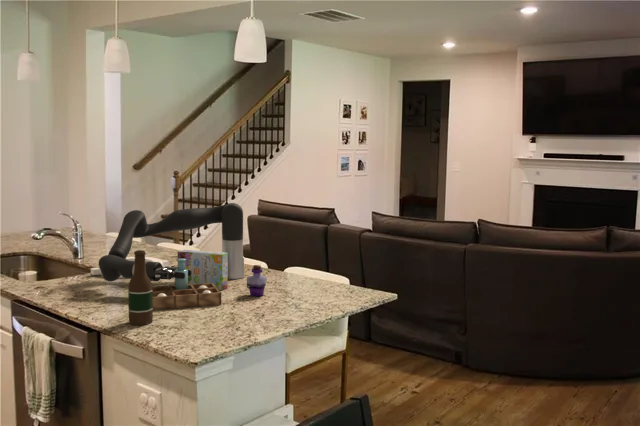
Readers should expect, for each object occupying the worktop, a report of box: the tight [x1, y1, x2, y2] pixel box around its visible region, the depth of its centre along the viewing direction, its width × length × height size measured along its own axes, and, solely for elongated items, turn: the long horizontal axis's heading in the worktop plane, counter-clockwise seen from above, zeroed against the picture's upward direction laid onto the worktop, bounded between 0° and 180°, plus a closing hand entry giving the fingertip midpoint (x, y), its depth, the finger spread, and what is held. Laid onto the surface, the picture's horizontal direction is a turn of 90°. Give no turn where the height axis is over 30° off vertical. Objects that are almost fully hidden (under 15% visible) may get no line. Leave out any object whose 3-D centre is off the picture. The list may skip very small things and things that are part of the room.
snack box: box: [177, 249, 229, 291], centre depth 248 cm, size 21×6×15 cm, turn 71°
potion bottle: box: [246, 264, 268, 298], centre depth 236 cm, size 9×9×12 cm
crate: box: [152, 283, 222, 311], centre depth 225 cm, size 25×17×5 cm
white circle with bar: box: [90, 256, 170, 279], centre depth 277 cm, size 28×28×5 cm
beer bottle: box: [127, 249, 154, 327], centre depth 196 cm, size 8×8×24 cm
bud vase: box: [174, 258, 188, 290], centre depth 228 cm, size 5×5×13 cm
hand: (187, 274), depth 227 cm, fingers closed on bud vase, 4 cm apart
